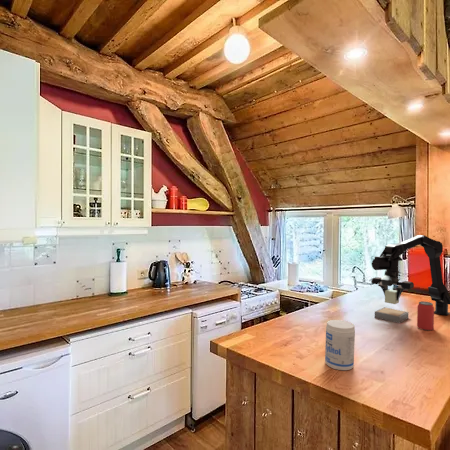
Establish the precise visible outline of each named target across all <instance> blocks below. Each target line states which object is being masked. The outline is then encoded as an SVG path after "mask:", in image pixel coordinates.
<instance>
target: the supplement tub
mask: <svg viewBox="0 0 450 450" xmlns="http://www.w3.org/2000/svg"><path fill="white" fill-rule="evenodd" d="M325 326H326V327H325V346H324V347H325V351H324V354H325V355H324V359H325V360H324V361H325V362H324V363H325V365H327V366H328V367H329V368H331V369H334V370H339V371H348V370H352V369H353V368H354V366H355V365H354V364H355V337H356V329H355V325H354V323H352V322H350V321H348V320H343V319H342V320H341V319H331V320H328V321H327V322H326V325H325Z"/></svg>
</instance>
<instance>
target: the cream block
mask: <svg viewBox="0 0 450 450" xmlns="http://www.w3.org/2000/svg"><path fill="white" fill-rule="evenodd" d="M399 302H400V299H399V300H398V301H397V289H391V288H390V289H389V288H388V290H386V291H385V295H384V303H386V304H391V305H392V304H393V305H397V304H399Z"/></svg>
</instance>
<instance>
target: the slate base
mask: <svg viewBox="0 0 450 450" xmlns="http://www.w3.org/2000/svg"><path fill="white" fill-rule="evenodd" d="M374 318H377V319H380V320H385V321H390V322H393V323H397V324H401V323H402V322H403V321H406V320H408V319H409V312H408V311H403V310H400V309H395V308H389V307H382V308H379V309H378V310H375V311H374Z"/></svg>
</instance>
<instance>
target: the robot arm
mask: <svg viewBox="0 0 450 450" xmlns="http://www.w3.org/2000/svg"><path fill="white" fill-rule="evenodd" d="M417 246H420V247H422V248H423V250H424V253H425V254H426V256H427V257H428V261H429V269H430V276H431V278H430V279H431V284H430V285H429V286H428V287H427V289H428V295H429V296H430V298H431V301H432V302H435V304H434V306H435V307H434V315H436V314H437V315H441V316H445V317H446V316H449V315H450V312H449V305H450V295H449V291H448V288H447V287H446V285H445V283H444V281H443V271H442V265H441V256H442V254H443V251H444V250H443V249H444V247H443V246H444V244H443V243H442V242H441V241H439V240H436V239H432V238H431V237H428V236H426V235H423V234H422V235H421V234H418V235H415V236H413V237H410V238H409V239H406V240H403V241H402V242H398V243H390V244H387V245H385V246H384V249H383V250H382V252H381V254H380V255H379V256H374V259H372V261H371V268H372V269H373V270H374V271H384V270H385V272H384V275H383V276H382V277H377V276H376V277H373V278H372V279H371V284H373V285H377V286H378V287H380V288H381V290H382V292H383V294H384V296H385V291H386V290H388V289H389V287H392V286H398V287H396V290H397V301H398V300H399V301H400V297H401V295H402V294H403V292H404V290H406V289H407V290H412V289H414V288H415V284H414V282H412V281H406V280H405V281H400V279H399V277H400V276H399V274H400V270H399V269H400V267H399V265H400V261H403V258H402V257H400V256H401V255H403V254H404V253H405V252H406V251H408V250H410V249H413V248H415V247H417Z"/></svg>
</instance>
